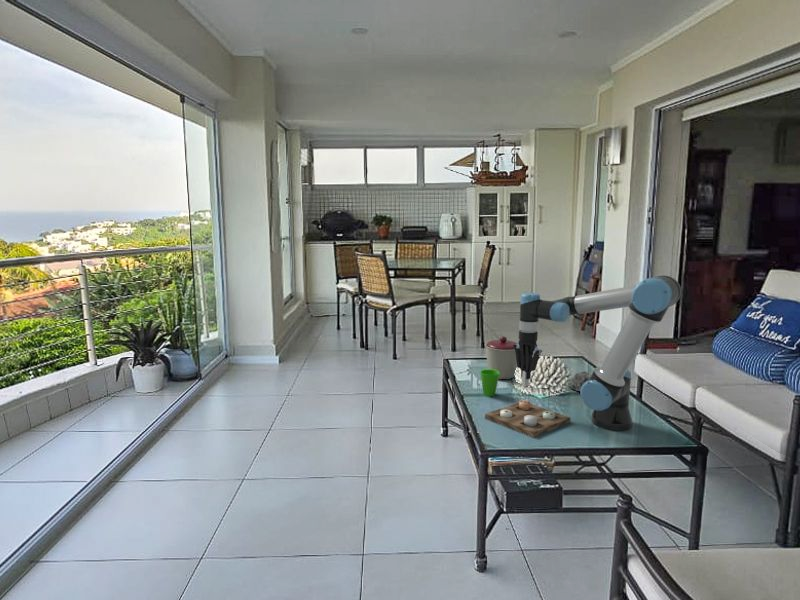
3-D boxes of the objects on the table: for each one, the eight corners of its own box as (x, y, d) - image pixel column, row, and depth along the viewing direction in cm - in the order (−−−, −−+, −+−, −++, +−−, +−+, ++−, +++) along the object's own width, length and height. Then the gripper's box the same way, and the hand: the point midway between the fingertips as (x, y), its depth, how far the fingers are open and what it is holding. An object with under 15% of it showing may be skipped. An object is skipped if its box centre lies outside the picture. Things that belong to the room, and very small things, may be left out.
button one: (514, 419, 221) (514, 411, 220) (506, 421, 218) (507, 414, 217) (505, 415, 224) (505, 408, 224) (497, 418, 221) (497, 410, 221)
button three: (532, 409, 228) (533, 402, 227) (525, 411, 225) (526, 404, 224) (523, 406, 231) (524, 398, 231) (516, 408, 228) (516, 401, 228)
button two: (557, 420, 219) (557, 413, 218) (550, 423, 216) (550, 416, 215) (547, 417, 223) (547, 409, 222) (540, 420, 220) (540, 412, 219)
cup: (500, 398, 245) (501, 375, 243) (480, 398, 245) (481, 374, 244) (497, 391, 254) (498, 369, 252) (478, 391, 254) (478, 368, 253)
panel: (570, 422, 218) (570, 417, 218) (533, 437, 203) (533, 432, 203) (522, 405, 237) (522, 401, 236) (484, 418, 222) (485, 413, 221)
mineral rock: (564, 387, 262) (565, 367, 260) (585, 386, 264) (586, 366, 262) (577, 396, 249) (579, 375, 248) (599, 394, 251) (600, 373, 250)
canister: (479, 372, 284) (480, 333, 280) (511, 370, 287) (513, 331, 284) (490, 383, 266) (492, 341, 263) (525, 381, 270) (527, 340, 266)
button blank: (539, 425, 211) (539, 417, 211) (531, 428, 208) (531, 420, 208) (529, 421, 215) (529, 414, 214) (521, 424, 212) (521, 417, 211)
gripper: (547, 332, 220) (543, 388, 224) (521, 326, 230) (518, 380, 234) (535, 335, 215) (532, 391, 219) (509, 329, 225) (507, 383, 229)
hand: (525, 385), depth 227 cm, fingers closed
